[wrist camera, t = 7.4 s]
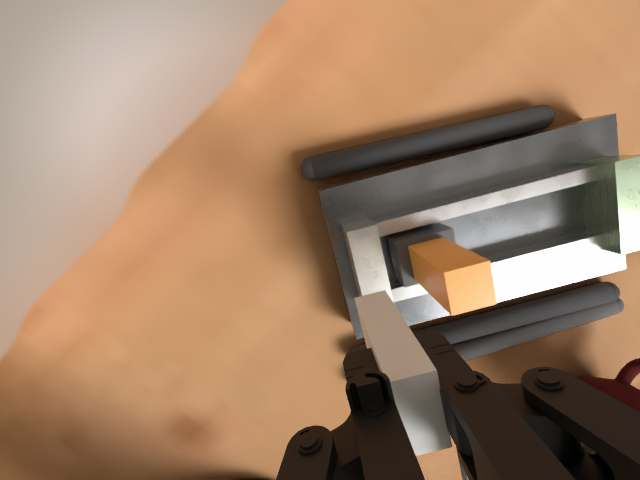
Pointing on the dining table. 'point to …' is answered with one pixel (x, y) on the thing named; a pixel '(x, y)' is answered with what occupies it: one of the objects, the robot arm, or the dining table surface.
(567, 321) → the cord
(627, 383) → the mug
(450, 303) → the lever
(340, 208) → the gray slotted base
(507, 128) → the cord
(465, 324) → the grey rod
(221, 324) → the dining table surface
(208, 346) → the dining table surface
